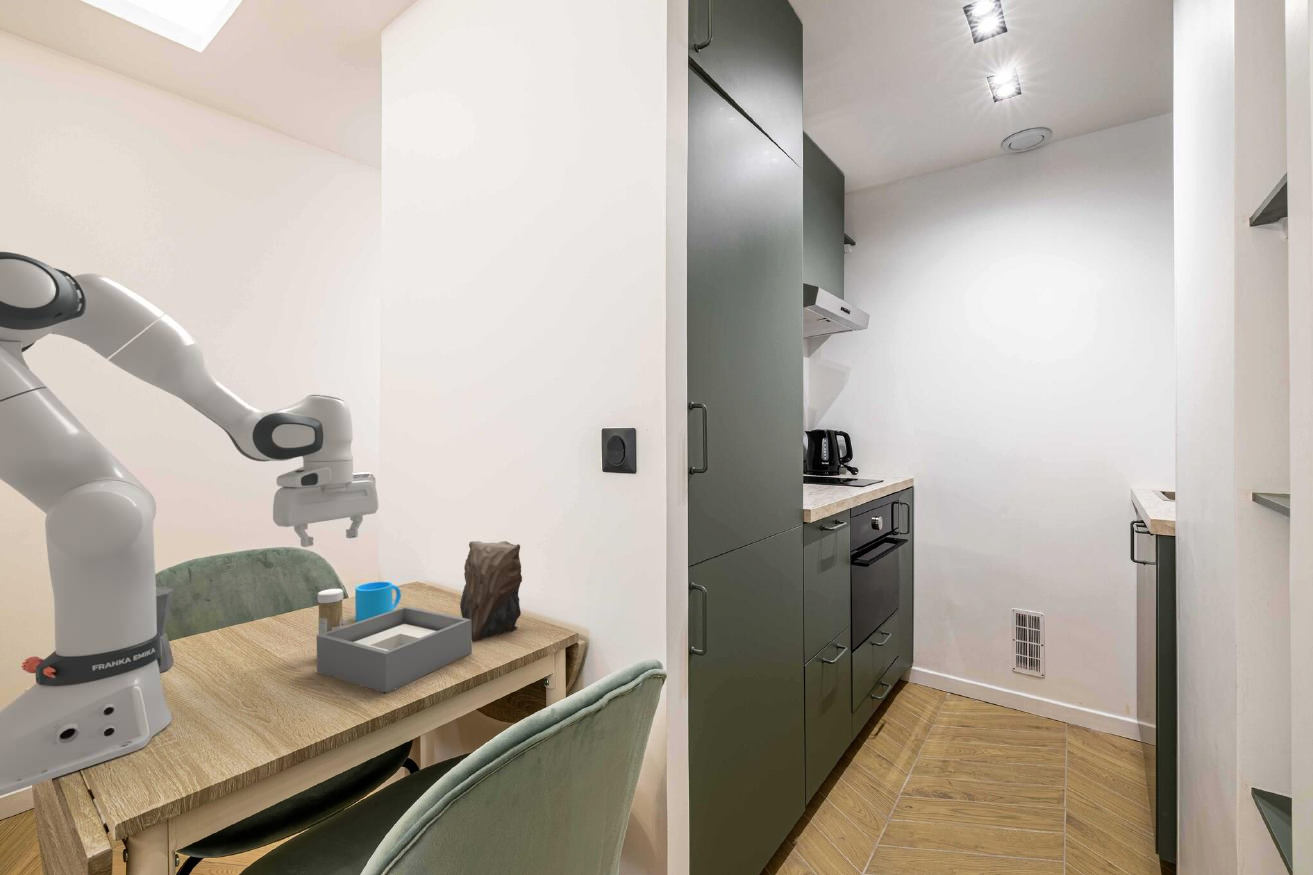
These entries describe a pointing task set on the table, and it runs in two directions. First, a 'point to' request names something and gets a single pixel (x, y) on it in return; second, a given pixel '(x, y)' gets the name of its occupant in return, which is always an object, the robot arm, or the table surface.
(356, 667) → the box
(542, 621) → the table surface
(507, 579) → the owl
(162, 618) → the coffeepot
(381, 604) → the mug
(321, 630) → the sprinkles bottle
